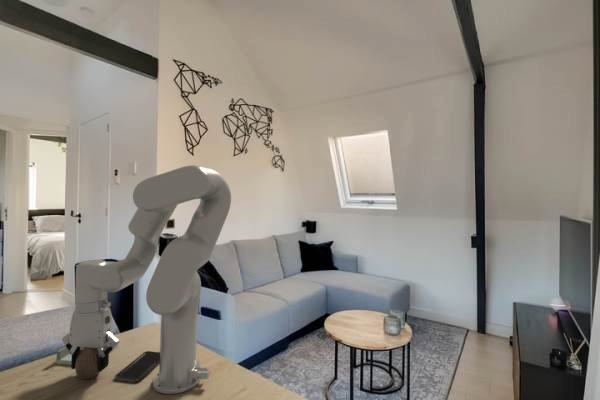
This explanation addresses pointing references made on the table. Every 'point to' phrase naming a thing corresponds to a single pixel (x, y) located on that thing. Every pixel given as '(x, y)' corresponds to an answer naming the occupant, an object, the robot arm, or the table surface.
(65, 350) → the grey-green shallow square tray
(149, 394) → the table surface
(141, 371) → the phone
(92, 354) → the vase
